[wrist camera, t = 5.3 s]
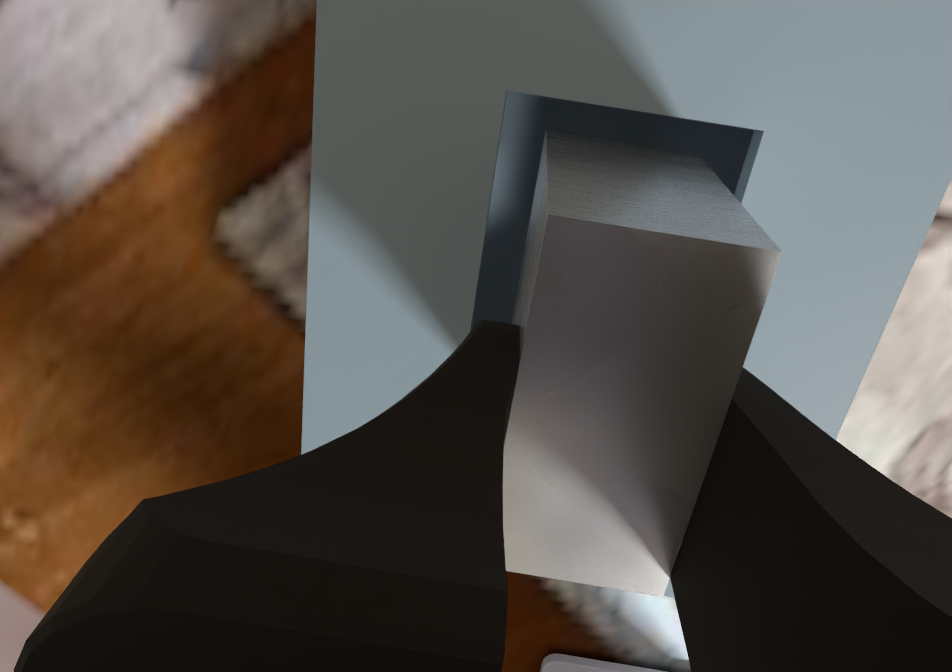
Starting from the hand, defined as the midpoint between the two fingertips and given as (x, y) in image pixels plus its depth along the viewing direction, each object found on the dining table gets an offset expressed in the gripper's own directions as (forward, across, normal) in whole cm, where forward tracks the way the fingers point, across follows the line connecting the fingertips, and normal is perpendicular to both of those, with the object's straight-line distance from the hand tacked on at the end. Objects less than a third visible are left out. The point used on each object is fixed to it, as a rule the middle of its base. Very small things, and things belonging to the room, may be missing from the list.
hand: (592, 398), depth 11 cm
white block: (+3, 0, -1) cm, 3 cm away
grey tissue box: (+8, 0, 0) cm, 8 cm away
